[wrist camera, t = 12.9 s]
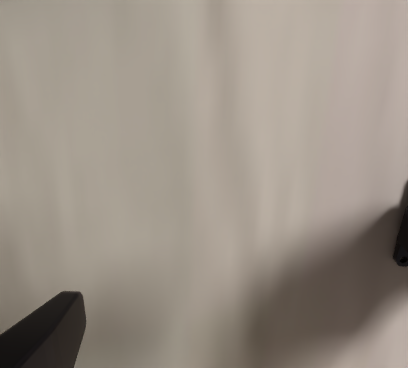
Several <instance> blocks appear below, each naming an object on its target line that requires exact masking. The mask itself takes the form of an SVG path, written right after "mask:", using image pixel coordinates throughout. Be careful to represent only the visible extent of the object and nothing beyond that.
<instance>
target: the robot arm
mask: <svg viewBox="0 0 408 368" xmlns="http://www.w3.org/2000/svg"><path fill="white" fill-rule="evenodd" d="M402 257H404V258H403V259H401V258H402ZM393 260H394V261H395V262H396V263H397V264H398V265H399V266H408V206H407V207H406V211H405V214H404V217H403V221H402V224H401V227H400V231H399V234H398V237H397V244H396V248H395V251H394V254H393ZM85 328H86V315H85V307H84V300H83V295H82V293H80V292H77V291H63V292H61V293H59V294H58V295H56V296H55V297H53V298H52V299H51V300H49V301H48V302H46V303H45V304H44V305H42V306H41V307H39V308H38V309H36V310H35V311H34V312H32V313H31V314H29V315H28V316H26V317H25V318H24V319H22V320H21V321H19V322H18V323H17V324H15V325H14V326H12V327H11V328H9V329H8V330H7V331H5V332H4V333H2V334H1V335H0V368H74V365H75V362H76V358H77V355H78V352H79V348H80V345H81V342H82V339H83V335H84V332H85Z"/></svg>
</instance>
